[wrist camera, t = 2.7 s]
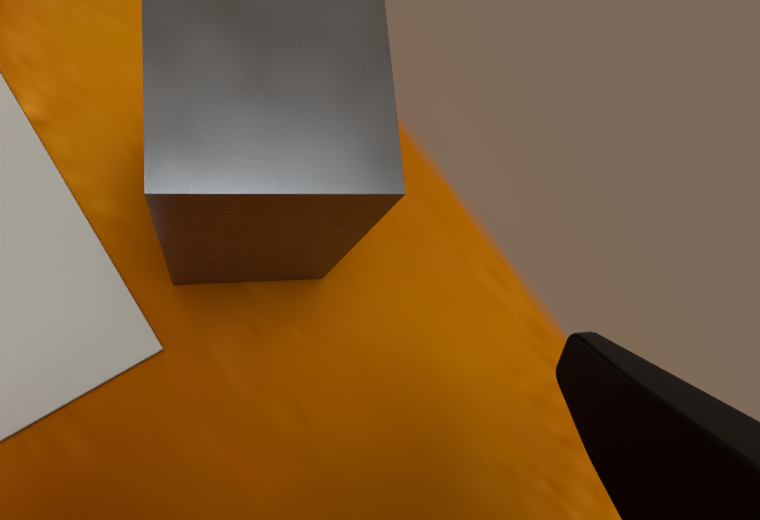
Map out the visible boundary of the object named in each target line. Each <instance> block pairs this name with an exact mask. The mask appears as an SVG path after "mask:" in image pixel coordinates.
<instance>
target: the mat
mask: <svg viewBox="0 0 760 520" xmlns="http://www.w3.org/2000/svg"><path fill="white" fill-rule="evenodd" d="M162 350H163V348H162V346H161V344H160V342H159V341H158V339H157V337H156V336H155V334H154V332H153V331H152V329H151V327H150V325H149V324H148V322H147V320H146V319H145V317H144V315H143V314H142V312H141V310H140V309H139V307H138V305H137V303H136V302H135V300H134V298H133V297H132V295H131V293H130V292H129V290H128V288H127V286H126V285H125V283H124V281H123V280H122V278H121V276H120V275H119V273H118V271H117V270H116V268H115V266H114V264H113V263H112V261H111V259H110V258H109V256H108V254H107V253H106V251H105V249H104V247H103V246H102V244H101V242H100V241H99V239H98V237H97V236H96V234H95V232H94V231H93V229H92V227H91V225H90V224H89V222H88V220H87V219H86V217H85V215H84V214H83V212H82V210H81V208H80V207H79V205H78V203H77V202H76V200H75V198H74V197H73V195H72V193H71V192H70V190H69V188H68V186H67V185H66V183H65V181H64V180H63V178H62V176H61V175H60V173H59V171H58V170H57V168H56V166H55V164H54V163H53V161H52V159H51V158H50V156H49V154H48V153H47V151H46V149H45V147H44V146H43V144H42V142H41V141H40V139H39V137H38V136H37V134H36V132H35V131H34V129H33V127H32V125H31V124H30V122H29V120H28V119H27V117H26V115H25V114H24V112H23V110H22V108H21V107H20V105H19V103H18V102H17V100H16V98H15V97H14V95H13V93H12V92H11V90H10V88H9V86H8V85H7V83H6V81H5V80H4V78H3V76H2V75H1V73H0V442H1V441H3V440H5V439H6V438H8V437H10V436H12V435H13V434H15V433H17V432H19V431H20V430H22V429H24V428H26V427H28V426H29V425H31V424H33V423H35V422H36V421H38V420H40V419H42V418H43V417H45V416H47V415H49V414H50V413H52V412H54V411H56V410H58V409H59V408H61V407H63V406H65V405H66V404H68V403H70V402H72V401H73V400H75V399H77V398H79V397H80V396H82V395H84V394H86V393H88V392H89V391H91V390H93V389H95V388H96V387H98V386H100V385H102V384H103V383H105V382H107V381H109V380H111V379H112V378H114V377H116V376H118V375H119V374H121V373H123V372H125V371H126V370H128V369H130V368H132V367H133V366H135V365H137V364H139V363H141V362H142V361H144V360H146V359H148V358H149V357H151V356H153V355H155V354H156V353H158V352H160V351H162Z"/></svg>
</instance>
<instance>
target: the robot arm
mask: <svg viewBox="0 0 760 520" xmlns="http://www.w3.org/2000/svg"><path fill="white" fill-rule="evenodd" d="M556 378H557V382H558V384H559V387H560V389H561V392H562V394H563V397H564V399H565V401H566V404H567V406H568V409H569V411H570V413H571V416H572V418H573V421H574V423H575V426H576V428H577V430H578V433H579V435H580V438H581V440H582V443H583V445H584V447H585V449H586V452H587V454H588V456H589V458H590V460H591V462H592V464H593V466H594V468H595V470H596V472H597V474H598V476H599V478H600V480H601V481H602V483H603V485H604V487H605V489H606V491H607V493H608V495H609V496H610V498H611V500H612V502H613V504H614V506H615V508H616V510H617V511H618V513H619V515H620V517H621V519H622V520H760V422H759V421H757V420H755V419H753V418H751V417H750V416H748V415H746V414H744V413H742V412H740V411H739V410H737V409H735V408H733V407H731V406H729V405H727V404H726V403H724V402H722V401H720V400H718V399H717V398H715V397H713V396H711V395H709V394H707V393H706V392H704V391H702V390H700V389H698V388H696V387H694V386H693V385H691V384H689V383H687V382H685V381H683V380H682V379H680V378H678V377H676V376H674V375H672V374H671V373H669V372H667V371H665V370H663V369H661V368H659V367H658V366H656V365H654V364H652V363H650V362H648V361H646V360H645V359H643V358H641V357H639V356H638V355H636V354H634V353H632V352H630V351H628V350H627V349H625V348H623V347H621V346H619V345H617V344H615V343H614V342H612V341H610V340H608V339H606V338H604V337H603V336H601V335H599V334H597V333H594V332H580V333H574V334H572V335H570V336H569V337H568V339H567V341H566V344H565V346H564V349H563V351H562V354H561V356H560V359H559V362H558V364H557V367H556Z"/></svg>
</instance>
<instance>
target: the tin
mask: <svg viewBox="0 0 760 520" xmlns="http://www.w3.org/2000/svg"><path fill="white" fill-rule="evenodd" d="M142 38H143V115H144V192H145V197H146V200H147V203H148V206H149V209H150V213H151V216H152V219H153V222H154V225H155V229H156V232H157V235H158V238H159V241H160V244H161V248H162V251H163V254H164V257H165V260H166V263H167V267H168V270H169V273H170V276H171V279H172V283H173V285H183V284H207V283H230V282H254V281H278V280H302V279H322V278H323V277H324V276H325V275H326V274H327V273H328V272H329V271H330V270H331V269H332V268H333V267H334V266H335V265H336V264H337V263H338V262H339V261H340V260H341V259H342V258H343V257H344V256H345V255H346V254H347V253H348V252H349V251H350V250H351V249H352V248H353V247H354V246H355V245H356V244H357V243H358V242H359V241H360V240H361V239H362V238H363V237H364V236H365V235H366V234H367V233H368V232H369V230H370V229H371V228H372V227H373V226H374V225H375V224H376V223H377V222H378V221H379V220H380V219H381V218H382V217H383V216H384V215H385V214H386V213H387V212H388V211H389V210H390V209H391V208H392V207H393V206H394V205H395V204H396V203H397V202H398V201H399V200H400V199H401V198H402V197H403V196H404V195H405V187H404V177H403V168H402V159H401V149H400V140H399V131H398V121H397V112H396V103H395V94H394V85H393V75H392V66H391V57H390V47H389V38H388V29H387V19H386V10H385V1H384V0H142Z"/></svg>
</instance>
